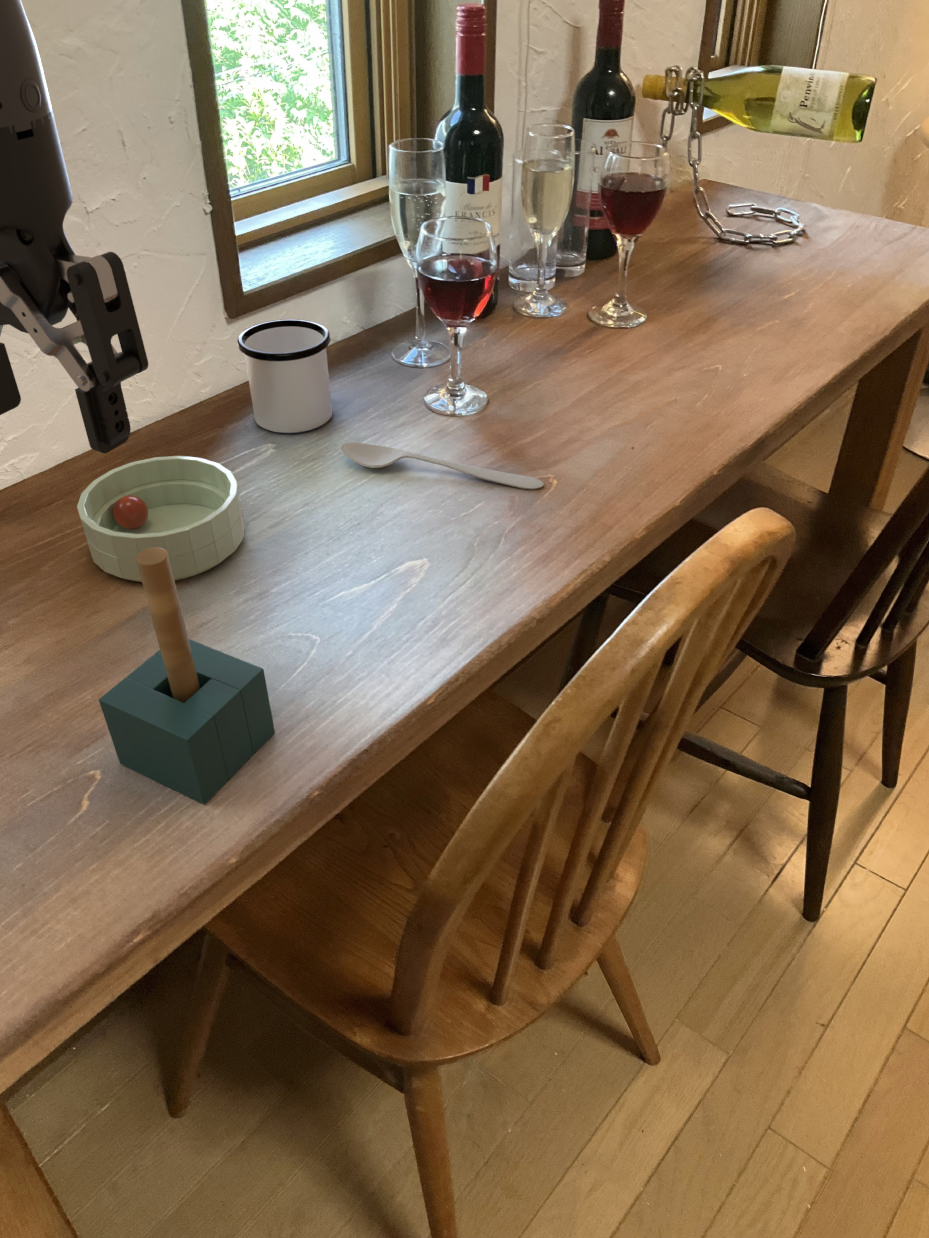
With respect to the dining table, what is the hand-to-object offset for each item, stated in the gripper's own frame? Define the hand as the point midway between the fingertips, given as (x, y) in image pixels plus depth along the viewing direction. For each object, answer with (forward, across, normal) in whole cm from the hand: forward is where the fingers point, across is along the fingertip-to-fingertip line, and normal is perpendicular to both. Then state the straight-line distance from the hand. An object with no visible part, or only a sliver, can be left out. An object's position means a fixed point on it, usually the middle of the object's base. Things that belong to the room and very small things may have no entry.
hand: (56, 427), depth 54 cm
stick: (+23, +6, 0) cm, 23 cm away
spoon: (+23, +2, +40) cm, 46 cm away
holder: (+23, +6, 0) cm, 23 cm away
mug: (+23, -18, +44) cm, 52 cm away
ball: (+20, -17, +17) cm, 32 cm away
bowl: (+23, -13, +18) cm, 32 cm away
